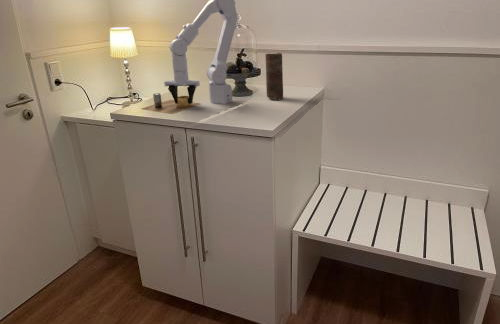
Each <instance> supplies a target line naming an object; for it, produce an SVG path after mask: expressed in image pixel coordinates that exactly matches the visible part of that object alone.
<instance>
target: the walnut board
mask: <svg viewBox="0 0 500 324" xmlns="http://www.w3.org/2000/svg"><path fill="white" fill-rule="evenodd" d="M200 105H201V103H199V102H198V103H197V102H193V103H192V104H191V105H190V106H188V107H178V106H177V104H175V101H174V99H167V100H164V101H162V107H161V108H155V105H154V104H152V105H148V106H146V107H142V108H141V107H140V110H145V111H150V112H151V111H152V112H157V113H164V114H169V115H173V114H178V113H180V112H182V111H185V110H189V109H190V108H193V107H196V106H200Z"/></svg>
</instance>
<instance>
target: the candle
mask: <svg viewBox="0 0 500 324" xmlns="http://www.w3.org/2000/svg"><path fill="white" fill-rule="evenodd" d="M283 77H284V76H283V53H282V52H277V53H265V82H266V83H265V84H266V85H265V86H266V98H268V99H270V100H273V101H280V100H279V99H281V100H282V99H284V79H283Z"/></svg>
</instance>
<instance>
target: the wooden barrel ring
mask: <svg viewBox="0 0 500 324" xmlns="http://www.w3.org/2000/svg"><path fill="white" fill-rule="evenodd" d="M190 105H191V104H190V103H189V95H179V96H178V97H177V106H178V107H188V106H190Z"/></svg>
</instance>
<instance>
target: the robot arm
mask: <svg viewBox="0 0 500 324" xmlns="http://www.w3.org/2000/svg"><path fill="white" fill-rule="evenodd" d="M215 13H219V15H220V16H221V17H222V19H223V23H222V27H221V31H220V35H219V39H218V43H217V46H216V50H215V55H214V57H213V59H212V61H211V63H210V66H209V67H208V68H207V69H206V76H207V78H208V79H209V81H208V91H209V92H208V93H209V103H210V104H219V105H227V104H229V103H231V102H233V89H232V88H233V87H232V86H231V84H229V83H227V81H226V80H227V69H228V66H227V60H228V57H229V52H230V49H231V45H232V42H233V37H234V34H235V30H236V27H237V23H238V14H237V13H238V12H237V10H236V1H235V0H208V1H207V3H206V4H205V6H204V7H203V8H202V10H200V12H199V13H198V15H197V16H196V17H195V18H194V20H193V21H192V22H191V23H187V24H183V26H182V27H181V28H182V30H181V31H180V32H179V33H178V34H177V35H175V37H174V38H175V39H173V40H172V41H171V42H170V44H169V50H170V52H171V57H172V60H171V61H172V68H173V69H172V71H173V78H174V80H165V81H164V82H163V83H164V87H168V88H167V89H168V91H169V93H170V94H171V97H172V99H173V100H174V101H175V104H177V97H179V96H178V88H179V87H186V89H187V93H188V96H189V103H190V104H192V103H194V101H193V100H194V95H195V92H196V89H197V87H200V84H201V83H200V80H190V79H189V71H188V59H187V51H188V47H189V46H190V45H192V43H193V41H194V40H195V39H196V38H197V37H198V35H199V29H200V28H201V27H202V26H203V25H204V23H205V22H207V20H208V19H209V18H210V16H212V15H213V14H215Z"/></svg>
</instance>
